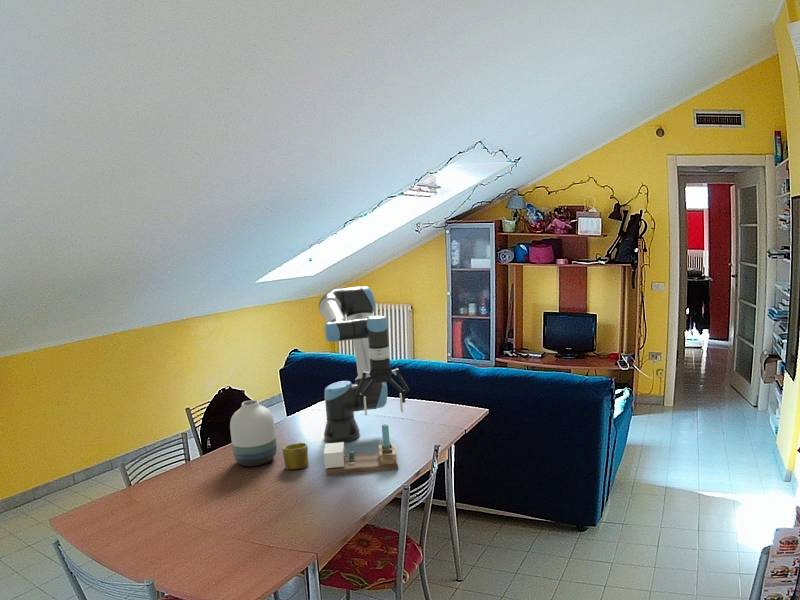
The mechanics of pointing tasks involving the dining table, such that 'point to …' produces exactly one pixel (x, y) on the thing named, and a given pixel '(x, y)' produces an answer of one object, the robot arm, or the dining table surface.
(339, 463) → the cover
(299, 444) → the mug
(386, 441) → the peg
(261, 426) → the vase
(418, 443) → the dining table surface
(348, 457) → the board
